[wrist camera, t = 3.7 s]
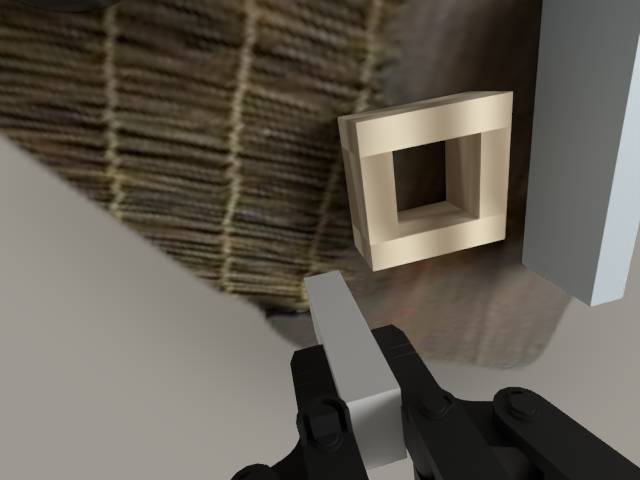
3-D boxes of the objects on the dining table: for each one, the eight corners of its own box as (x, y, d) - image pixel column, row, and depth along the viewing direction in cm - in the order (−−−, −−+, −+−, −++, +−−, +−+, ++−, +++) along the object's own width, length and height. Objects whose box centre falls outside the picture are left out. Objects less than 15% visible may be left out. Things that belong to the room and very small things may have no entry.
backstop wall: (521, 263, 36) (590, 306, 29) (544, -17, 27) (656, -57, 19) (548, 256, 37) (622, 297, 30) (579, -23, 27) (703, -64, 20)
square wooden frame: (355, 245, 32) (373, 271, 27) (337, 117, 27) (355, 122, 23) (469, 218, 33) (504, 238, 28) (470, 91, 28) (513, 91, 24)
